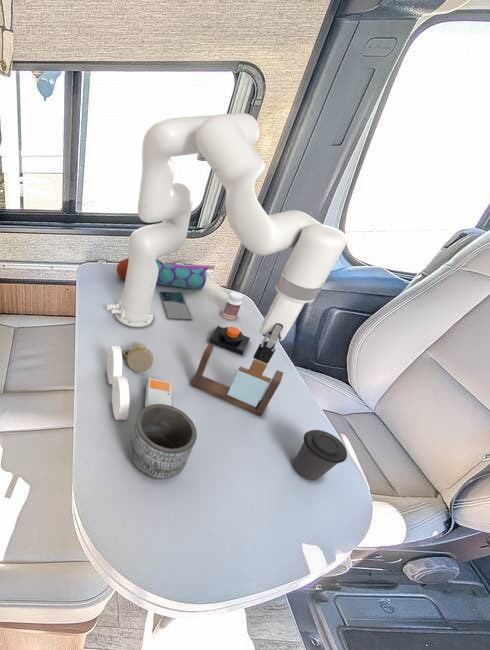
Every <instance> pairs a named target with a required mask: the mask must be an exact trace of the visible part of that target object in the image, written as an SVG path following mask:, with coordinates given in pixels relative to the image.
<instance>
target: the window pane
mask: <svg viewBox="0 0 490 650" xmlns="http://www.w3.org/2000/svg"><path fill="white" fill-rule="evenodd" d="M267 366H268V363H264V362H261V361H259V360H256V359H254V358H253V361H252V363H251V364H250V366H249V368H247V367H244V366H239V367H238V369H237V372H236V374H235V376H234V379H233V381H232V383H231V385H230V389H229V391H228V394H227V395H229V396H231V397H233V398H236V399H238V400H240V401H242V402H245V403H247V404H249V405H252V406H254V407H256V406H257V404H258V402H259V401H260V400H261V398H262V395H264V394H263V393H265V392H264V391H266V389H267V387H268V385H269V384H270V383H269V382H271V381H270V380H272V378H271V377H268V376H266V375H263V374H264V372H265V371H266V368H267ZM265 376H266V377H265ZM270 378H271V379H270Z"/></svg>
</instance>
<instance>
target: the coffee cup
mask: <svg viewBox="0 0 490 650" xmlns="http://www.w3.org/2000/svg"><path fill="white" fill-rule="evenodd" d="M347 459H348V451H347V447H346V446H345V445H344V443H343V442H342V440H340V439H339V438H338V437H336V436H335V435H333V434H332V433H329V432H327V431H325V430H321V429H311V430H308V431H306V432H305V433H304V435H303V442H302V444H301V446H300V448H299V450H298V453H297V455H296V457H295V459H294V461H293V464H292V465H293V468H294V471H295V472H296V473H297V474H298V475H299V476H300V477H302V478H304V479H305V480H308V481H311V482H312V481H318V480H319V479H321V478H322V477H323V476H324V475H325V474H327V473H328V472H329V471H330V470H331V469H333V468H334V467H335V466H336V465H337V464H341V463H344V462H345V461H346V460H347Z"/></svg>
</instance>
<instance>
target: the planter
mask: <svg viewBox="0 0 490 650" xmlns="http://www.w3.org/2000/svg"><path fill="white" fill-rule="evenodd" d="M133 426H134V427H133V429H132V434H131V437H130V441H129V445H128V452H129V457H130V459H131V461H132V463H133V465H134V466H135V467H136V469H137V470H138V471H139V472H140V473H141V474H143V475H144V476H145V477H147V478H149V479H153V480H159V481H161V480H169V479H172V478H175V477H176V476H179V475H180V474H181V473H182V472H183V471H184V469H185V467H186V465H187V462H188V460H189V458H190V455H191V453H192V450H193V448H194V445H195V444H196V441H197V437H198V433H197V432H198V431H197V428H196V425H195V423H194V422H193V420H192V419H191V418H190V416H188V415H187V414H186V413H185V412H184V411H183V410H181V409H179V408H177V407H175V406H172V405H171V406H169V405H165V404H154V405H149V406H147V407H145V406H144V407H143V408H142V409H141V410H140V411H139V412H138V414H137V416H136V419H135V423H134V425H133Z"/></svg>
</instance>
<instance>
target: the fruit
mask: <svg viewBox="0 0 490 650" xmlns="http://www.w3.org/2000/svg"><path fill="white" fill-rule="evenodd" d="M128 260H129V257H127V258H124V259H122V260H120V261H119V262H118V264H117V266H116V273H117V276H118V277H120V278H121V279H123V280H126V274H127V268H128Z"/></svg>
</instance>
